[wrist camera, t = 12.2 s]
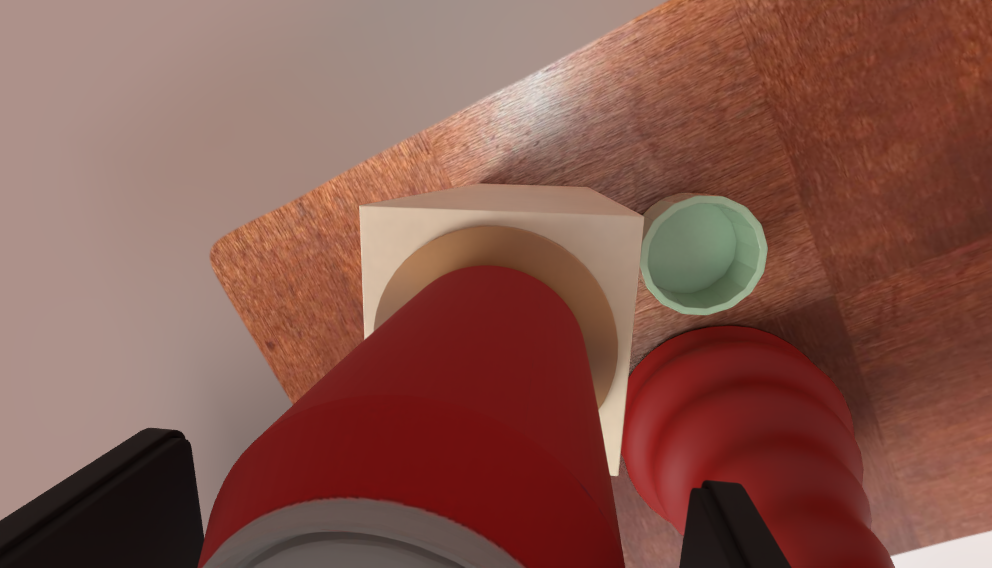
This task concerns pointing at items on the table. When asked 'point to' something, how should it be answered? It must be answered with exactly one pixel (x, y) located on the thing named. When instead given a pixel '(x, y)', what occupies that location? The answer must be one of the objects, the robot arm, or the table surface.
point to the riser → (537, 208)
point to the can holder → (701, 252)
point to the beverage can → (435, 446)
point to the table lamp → (751, 441)
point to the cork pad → (527, 257)
